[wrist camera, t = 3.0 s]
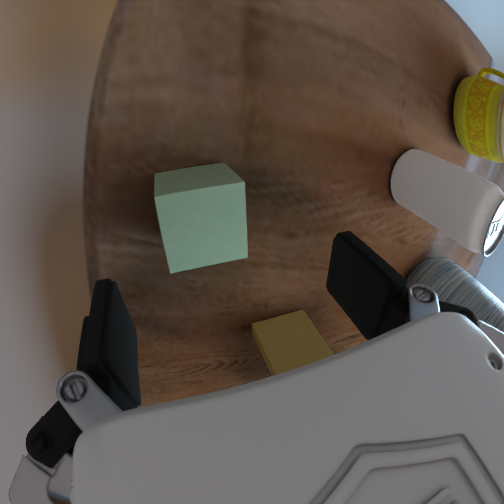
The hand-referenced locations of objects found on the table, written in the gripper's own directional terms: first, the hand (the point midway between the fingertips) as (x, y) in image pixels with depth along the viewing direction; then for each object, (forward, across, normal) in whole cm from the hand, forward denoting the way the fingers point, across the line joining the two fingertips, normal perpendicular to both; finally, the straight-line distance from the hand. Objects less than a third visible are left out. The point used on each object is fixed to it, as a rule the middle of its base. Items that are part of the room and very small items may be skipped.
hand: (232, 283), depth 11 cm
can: (+11, -22, 0) cm, 24 cm away
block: (+10, 0, 0) cm, 11 cm away
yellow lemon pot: (+11, -34, -10) cm, 37 cm away
